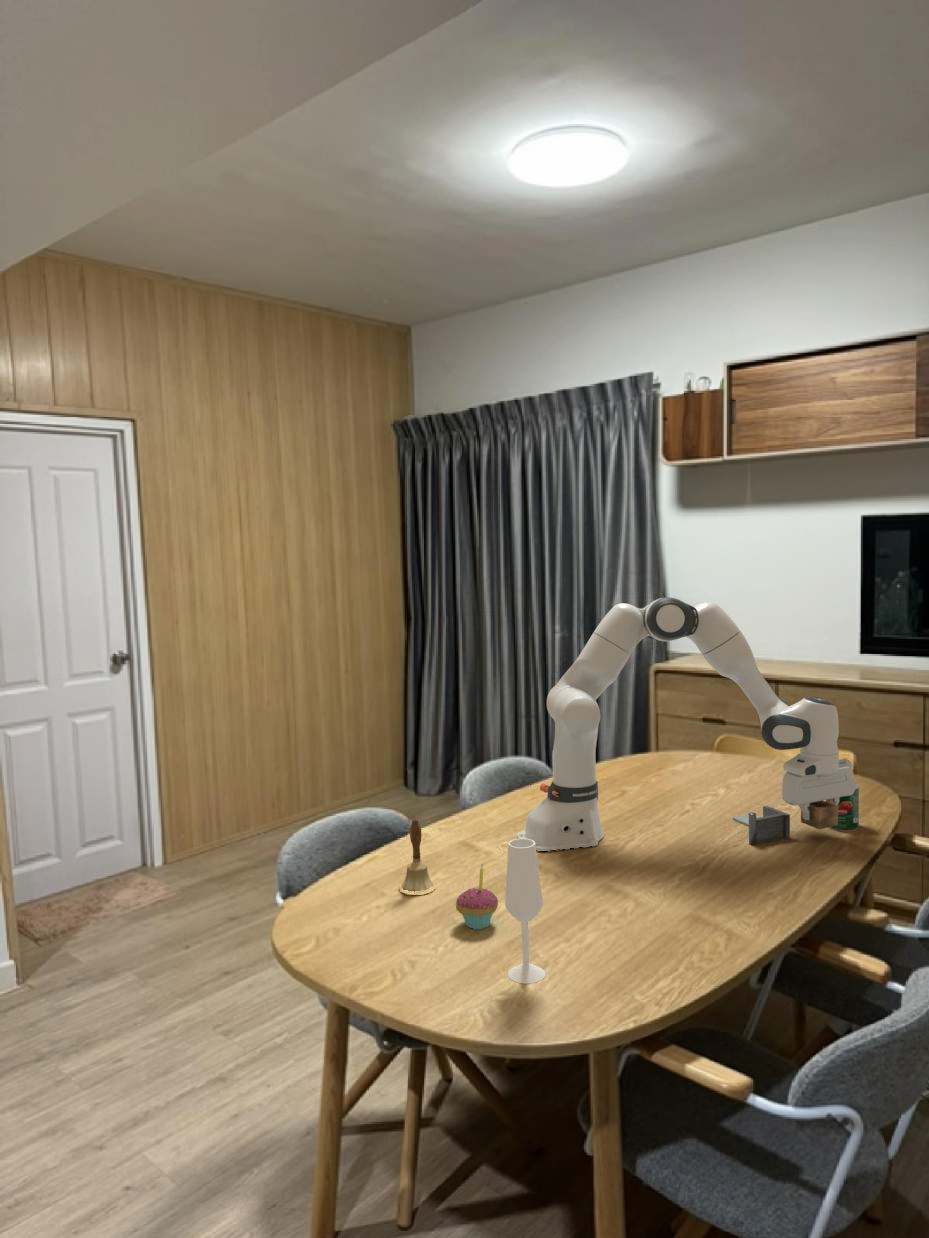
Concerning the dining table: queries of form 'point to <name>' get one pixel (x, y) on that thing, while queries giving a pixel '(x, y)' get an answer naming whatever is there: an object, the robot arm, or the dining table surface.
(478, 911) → the cupcake
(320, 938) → the dining table surface
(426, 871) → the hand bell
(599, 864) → the dining table surface
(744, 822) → the mat
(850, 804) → the canned tomato
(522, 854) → the champagne flute
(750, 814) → the bent rail
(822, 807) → the brown hollow square block
